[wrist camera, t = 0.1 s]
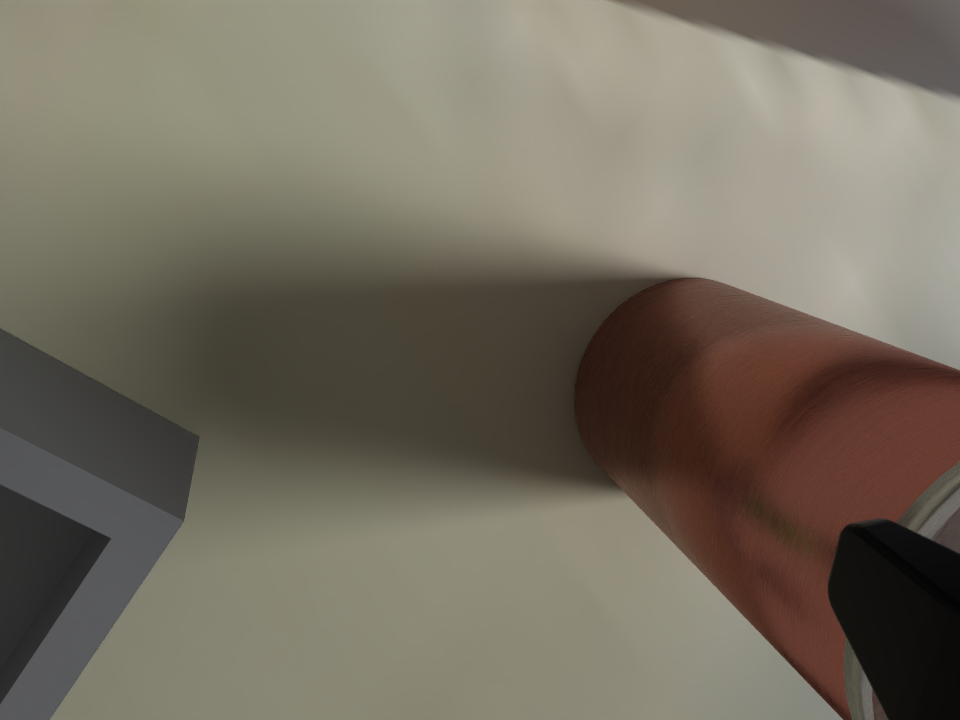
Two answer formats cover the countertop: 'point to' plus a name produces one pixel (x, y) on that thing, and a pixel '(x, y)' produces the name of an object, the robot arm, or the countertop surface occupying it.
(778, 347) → the tin can
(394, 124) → the countertop surface
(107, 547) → the tote
